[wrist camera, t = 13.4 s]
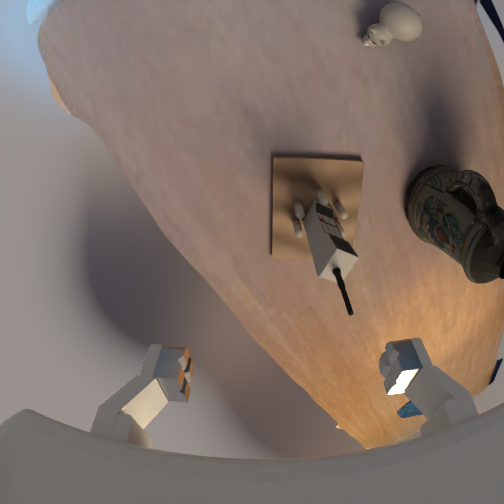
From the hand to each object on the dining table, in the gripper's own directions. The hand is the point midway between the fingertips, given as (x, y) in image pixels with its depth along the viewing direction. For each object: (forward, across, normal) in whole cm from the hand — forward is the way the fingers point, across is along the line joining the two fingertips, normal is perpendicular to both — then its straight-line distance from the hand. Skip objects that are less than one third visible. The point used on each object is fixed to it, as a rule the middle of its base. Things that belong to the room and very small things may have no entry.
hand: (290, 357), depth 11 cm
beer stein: (+41, -34, +8) cm, 54 cm away
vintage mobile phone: (+40, -9, +12) cm, 43 cm away
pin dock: (+41, -9, +12) cm, 44 cm away
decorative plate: (+42, -77, +106) cm, 137 cm away
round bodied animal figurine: (+41, -20, -23) cm, 52 cm away
